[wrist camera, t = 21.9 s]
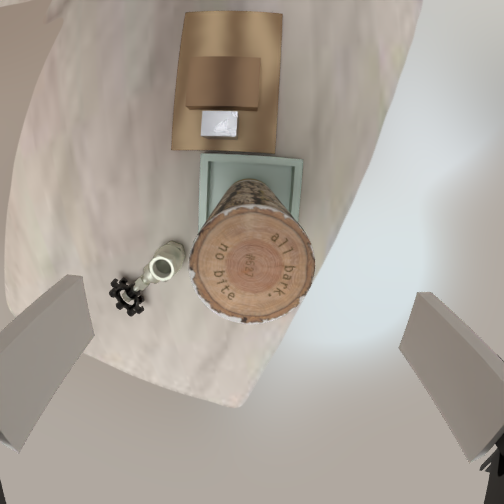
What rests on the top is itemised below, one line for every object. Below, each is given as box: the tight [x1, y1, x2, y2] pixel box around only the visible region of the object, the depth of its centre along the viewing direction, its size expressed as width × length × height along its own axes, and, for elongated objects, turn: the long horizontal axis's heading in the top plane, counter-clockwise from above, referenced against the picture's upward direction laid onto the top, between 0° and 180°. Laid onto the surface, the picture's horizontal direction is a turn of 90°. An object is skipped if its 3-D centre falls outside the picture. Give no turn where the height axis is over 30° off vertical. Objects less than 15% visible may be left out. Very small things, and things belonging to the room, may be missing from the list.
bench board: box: [171, 11, 283, 154], centre depth 34 cm, size 14×22×1 cm, turn 177°
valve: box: [109, 241, 185, 316], centre depth 40 cm, size 7×7×12 cm
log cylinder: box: [189, 178, 315, 324], centre depth 27 cm, size 7×7×25 cm
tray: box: [198, 153, 303, 233], centre depth 38 cm, size 13×13×3 cm
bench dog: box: [201, 111, 239, 140], centre depth 33 cm, size 4×3×6 cm
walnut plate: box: [185, 56, 261, 111], centre depth 32 cm, size 9×7×3 cm
